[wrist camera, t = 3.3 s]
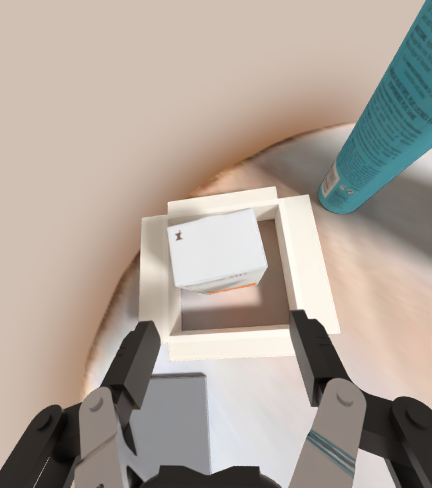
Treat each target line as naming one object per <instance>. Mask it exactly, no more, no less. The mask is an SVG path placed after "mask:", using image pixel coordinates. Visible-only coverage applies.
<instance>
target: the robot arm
mask: <svg viewBox="0 0 432 488" xmlns="http://www.w3.org/2000/svg"><path fill="white" fill-rule="evenodd" d="M289 331H290V337H291V341H292V344H293V348H294V351H295V354H296V358H297V361H298V364H299V368H300V371H301V374H302V378H303V381H304V384H305V388H306V391H307V394H308V397H309V401H310V404H311V407H318V411H317V414H316V417H315V419H314V422H313V425H312V428H311V430H310V432H309V433H308V435H307V437H306V440H305V443H304V445H303V448H302V451H301V454H300V457H299V460H298V462H297V465H296V468H295V471H294V474H293V476H292V479H291V482H290V485H289V488H352V485H353V479H354V473H355V462H356V457H357V452H358V448H359V449H362V450H365V451H367V452H370V453H372V454H375V455H378V456H380V457H383V458H384V460H385V462H386V465H387V467H388V469H389V472H390V474H391V476H392V479H393V481H394V483H395V486H396V488H432V410H431V409H430V408H429V407H428V406H426V405H425V404H424V403H422V402H420V401H418V400H416V399H414V398H411V397H405V396H402V397H398V398H396V399H395V400H394V401H391V400H387V399H384V398H380V397H377V396H373V395H371V394H368V393H366V392H364V391H363V390H361V389H360V388H358V387H357V386H356V385H355V384H354V383H353V382H352V381H351V379H350V378H349V376H348V375H347V373H346V371H345V369H344V367H343V364H342V362H341V360H340V358H339V356H338V354H337V352H336V350H335V348H334V346H333V345H332V342H331V340H330V338H329V337H328V334H327V332H326V330H325V328H324V326H323V325H322V324H321V323H320V322H319V321H318V320H317V319H308V317H307V315H306V312H305V310H304V309H298V310H290V311H289ZM160 345H161V339H160V335H159V333H158V331H157V328H156V326H155V324H154V322H153V321H152V320H150V321H140V322H138V324H137V326H136V328H135V330H134V331H131V332H130V333H129V334H128V335H127V336H126V337H125V338H124V340H123V342H122V344H121V346H120V349H119V350H118V352H117V354H116V357H115V358H114V360H113V362H112V364H111V366H110V368H109V370H108V372H107V374H106V376H105V378H104V380H103V382H102V384H101V385H100V387H99V388H97V389H95V390H94V391H92V392H91V393H90V394H89V395H88V396H87V397H86V398H85V399H84V401H83V402H81V403H79V404H76V405H74V406H71V407H68V408H66V409H62V408H61V407H60V406H59V405H51V406H49V407H47V408H45V409H43V410H42V411H41V412H40V413H39V414H37V415H36V416H35V418H34V419H33V420H32V421H31V423H30V424H29V426H28V427H27V429H26V431H25V432H24V434H23V435H22V437H21V438H20V440H19V442H18V443H17V445H16V446H15V448H14V450H13V451H12V453H11V454H10V456H9V457H8V459H7V461H6V462H5V464H4V465H3V467H2V469H1V470H0V488H33V487H34V485H35V483H36V481H37V479H38V477H39V475H40V473H41V472H42V473H41V475H40V477H39V479H38V481H37V483H36V485H35V487H34V488H70V487H71V485H72V482H73V480H74V477H75V488H282V487H281V486H280V485H279V484H277V483H276V482H275V481H274V480H272V479H270V478H269V477H267V476H265V475H262V474H260V468H259V466H233V467H230V468H227V469H225V470H222V471H219V472H216V473H214V474H211V475H204V474H202V473H200V472H197V471H195V470H193V469H190V468H188V467H186V466H183V465H160V468H159V473H158V474H156V475H155V476H153V477H151V478H150V479H149V478H148V475H147V472H146V469H145V467H144V465H143V463H142V460H141V457H140V453H139V449H138V445H137V441H136V437H135V433H134V429H133V425H132V421H131V418H130V416H131V413H132V410H141V407H142V403H143V400H144V397H145V394H146V391H147V387H148V384H149V381H150V378H151V375H152V372H153V368H154V365H155V362H156V359H157V356H158V352H159V349H160ZM49 457H50V458H49ZM48 458H49V460H48ZM47 460H48V461H47ZM46 462H47V463H46ZM45 464H46V465H45ZM44 466H45V467H44ZM43 468H44V469H43ZM42 470H43V471H42Z"/></svg>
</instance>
